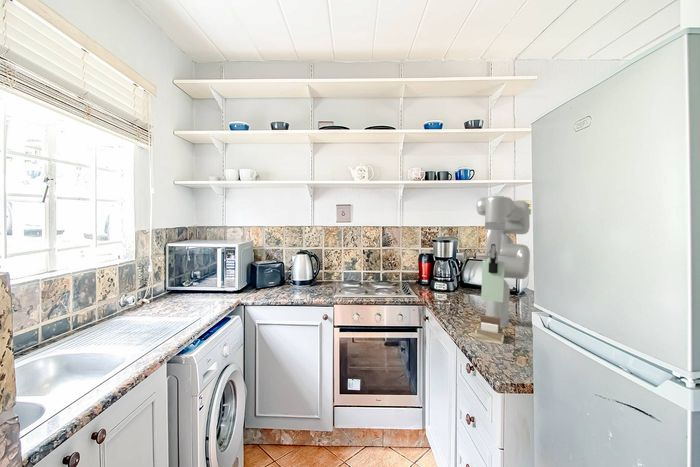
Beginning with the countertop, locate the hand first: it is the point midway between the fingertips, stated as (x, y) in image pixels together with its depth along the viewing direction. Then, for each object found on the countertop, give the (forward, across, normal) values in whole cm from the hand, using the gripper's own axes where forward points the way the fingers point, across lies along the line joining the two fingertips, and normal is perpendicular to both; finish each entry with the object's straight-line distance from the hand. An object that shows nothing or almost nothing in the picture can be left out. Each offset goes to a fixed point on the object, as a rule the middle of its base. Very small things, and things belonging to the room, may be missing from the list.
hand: (493, 272), depth 124 cm
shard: (+28, -14, -10) cm, 32 cm away
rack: (+27, +3, 0) cm, 27 cm away
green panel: (+12, 0, 0) cm, 12 cm away
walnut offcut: (+25, +4, 0) cm, 26 cm away
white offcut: (+25, +7, 0) cm, 26 cm away
